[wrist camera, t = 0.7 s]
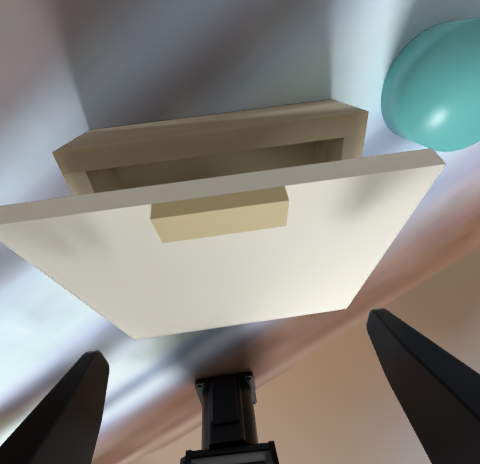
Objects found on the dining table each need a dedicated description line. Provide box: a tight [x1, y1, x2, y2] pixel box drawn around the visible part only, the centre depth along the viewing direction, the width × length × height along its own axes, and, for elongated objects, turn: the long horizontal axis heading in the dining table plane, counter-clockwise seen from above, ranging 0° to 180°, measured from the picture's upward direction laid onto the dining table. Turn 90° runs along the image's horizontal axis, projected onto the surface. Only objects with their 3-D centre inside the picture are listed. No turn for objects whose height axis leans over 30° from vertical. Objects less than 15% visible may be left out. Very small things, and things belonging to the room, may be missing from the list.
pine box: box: [52, 99, 369, 196], centre depth 17 cm, size 12×14×4 cm
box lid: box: [0, 148, 446, 340], centre depth 13 cm, size 12×14×1 cm
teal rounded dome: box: [381, 17, 480, 152], centre depth 15 cm, size 6×6×3 cm
